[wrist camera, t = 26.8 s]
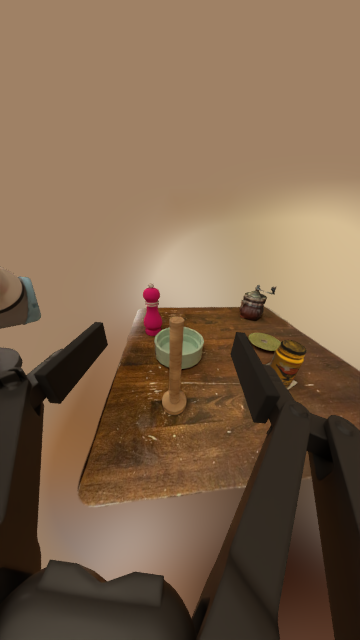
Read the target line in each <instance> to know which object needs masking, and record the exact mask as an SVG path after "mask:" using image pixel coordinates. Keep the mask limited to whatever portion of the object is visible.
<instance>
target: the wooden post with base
mask: <svg viewBox="0 0 360 640" xmlns="http://www.w3.org/2000/svg"><path fill="white" fill-rule="evenodd" d="M183 330H184V319H183V318H181V317H172V318H170V340H169V391H167V392H166V393H165V394H164V396H163V398H162V406H163V409H164V410H165V411H166V412H167V413H168V414H171V415H178V414H180V413H182V412H183V411H184V409H185V407H186V401H187V400H186V396H185V394H184V393H183V392H182V391H180V384H181V366H182V348H183Z"/></svg>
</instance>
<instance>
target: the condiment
mask: <svg viewBox="0 0 360 640" xmlns="http://www.w3.org/2000/svg"><path fill="white" fill-rule="evenodd" d="M305 353H306V348H305V347H304V346H303V345H301V344H300V343H298V342H295V341H292V340H284V341H282V342H281V345H280V346H279V348H277V349H276V351H275V353H274V356H273V358H272V361H271V363H268V364H266V365H270V366H271V367H272V368H273V369H274V370H275V371H276V372H277V374H278V376H279V377H280V379H281V380H282V382H283V383H284V385H285V386H286V388H287V390H288V389H290V388H291V387H292V386H294V385H295V384H296V383H297V382H296V381H294V380H293V379H294V377H295V376H296V374H297V372H298V370H299V368H300V366H301V365H302V363H303V361H304V360H303V357H304V355H305Z"/></svg>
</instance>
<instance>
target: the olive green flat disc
mask: <svg viewBox="0 0 360 640" xmlns="http://www.w3.org/2000/svg"><path fill="white" fill-rule="evenodd" d="M249 340H250V342H251V343H252V344H254V345H255V346H257V347H259V348H262V349H265V350H269V351H276V349H277V348H279V346H280V345H281V342H280V341H279V340H277V339H276V338H274V337H272V336H270V335H267V334H263V333H252V334H250V335H249Z"/></svg>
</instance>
